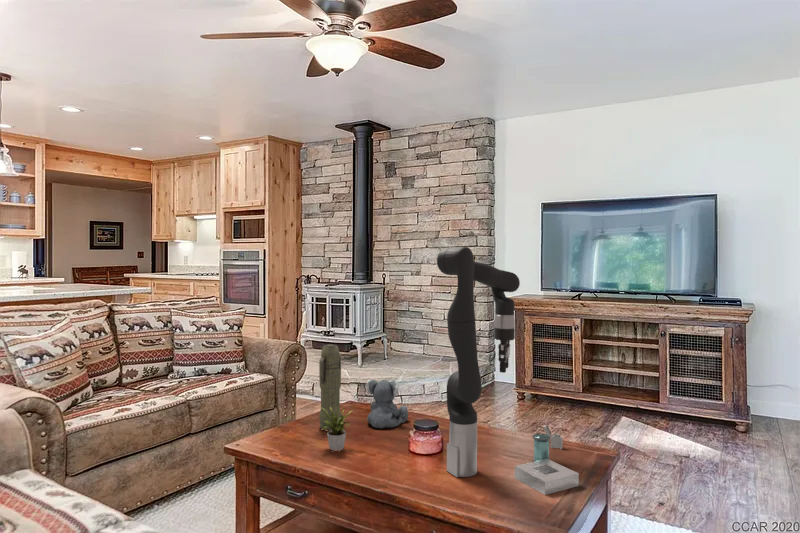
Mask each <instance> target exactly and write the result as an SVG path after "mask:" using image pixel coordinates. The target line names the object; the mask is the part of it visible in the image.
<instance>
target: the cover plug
mask: <svg viewBox="0 0 800 533" xmlns="http://www.w3.org/2000/svg"><path fill="white" fill-rule="evenodd" d="M532 439H533V462H534V461H539V460H543V459H549V460H550V441H551V436H549V435H547V434H546V433H541V432H539V433H534V434H532Z"/></svg>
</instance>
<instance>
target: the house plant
mask: <svg viewBox="0 0 800 533" xmlns="http://www.w3.org/2000/svg"><path fill="white" fill-rule="evenodd" d="M322 409H323V408H322ZM330 409H331V412H332V419H331V418H330V416H329V414H328V412H327V411H326V410H325V409H324V410H325V411H326V413H327V415H326V414H325V415H326V416H327V417H328V418H329V419H330V421H331V423H332V424H333V425H332V424H331V423H330V422H329V421H325V422H324V423H327V424H328V425H329V426H330V428H331V429H332V430H330V429H329V428H328V427H329V426H325V427H324V429H326V428H328V429H329V430H330V431H326V432H327V433H326V434H327V441H328V448H330V449H331V450H335V451H337V450H342V449H343V448H345V444H346V443H345V442H346V437H347V436H346V435H347V431H345V428H346V427H347V426H349V425H350V423H349V421H345V419H346V418H347V417H348V416H349V415H350V414H351V412H353V411H354V409H352V410H349V412H348V413H347V414H344V412H345V409H343V410H342V411H341V417H340V418H339V419H338V421H337V416H338V413H337V415H336V416H335V413H334V412H333V410H332V408H331V407H330ZM337 411H338V410H337ZM323 414H324V413H323ZM322 416H323V415H322ZM324 417H325V416H324ZM325 418H326V417H325ZM326 419H327V418H326ZM327 420H328V419H327ZM320 425H322V424H320V423H319V426H320ZM344 425H345V426H344ZM324 429H323V430H324ZM330 449H329V450H330ZM343 450H344V449H343ZM343 450H342V451H343Z"/></svg>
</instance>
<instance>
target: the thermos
mask: <svg viewBox="0 0 800 533" xmlns="http://www.w3.org/2000/svg"><path fill="white" fill-rule="evenodd" d="M320 354H321V355H320V359H319V363H318V364H319V366H318V367H319V370H318V371H319V373H318V374H319V377H318V378H319V387H320V410H319V429H320V428H321V429H324V427H325V426H329V425H328V424H327V423H324V422H325V421H329V422H330V423H331V421H330V419H329V418H328V417H327V416H326V415H327V413H326V411H327V412H328V414H329V416H330V418H331V419H332V412H331V409H330V407H331V408H332V410H333V412H334V413H335V416H336V415H337V413H338V416H337V421H338V419H339V418H340V417H341V414H342V411H341V409H340V408H341V406H340V405H341V404H340V403H341V402H340V401H341V398H340V397H341V396H340V395H341V394H340V393H341V392H340V388H341V386H342V385H341V384H342V382H341V381H342V378H341V377H342V357H341V354H340V349H339V347H338V345H337V344H336V343H334V344H333V343H327V344H324V345H323V346H322V349H321V352H320ZM322 408H323V409H322ZM324 409H325V410H326V411H325V410H324ZM337 410H338V411H337ZM323 413H324V414H323ZM325 414H326V415H325ZM322 415H323V416H322ZM324 416H325V417H326V418H327V419H328V420H327V419H326V418H325V417H324ZM320 424H322V425H320ZM331 424H332V423H331ZM332 425H333V424H332ZM328 428H329V429H330V430H332V429H331V428H330V426H329V427H328ZM328 428H326V429H324V430H329V429H328Z"/></svg>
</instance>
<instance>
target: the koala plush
mask: <svg viewBox="0 0 800 533" xmlns="http://www.w3.org/2000/svg"><path fill="white" fill-rule="evenodd" d="M399 387H400V385H399V381H398V380H397V379H395V380H391V381H389V380H387V379H381V380H379V381H376V380H375V379H368V380H367V381H366V386H365V388H366V391H367V393H368V394H369V395H372V397H373V399H374V401H373V402H371V404H370V413H369V414H368V416H367V420H366V421H367V422H368V424H370V425H371V426H372V427H373V428H374V427H375V428H374V429H384V428H388V429H391V428H396V427H398V426H399V425H401V423H402V424H404V423H406V422H407V420H408V419H409V412H408V410H409V409H408V406H406V405H401V406H400V407H398V406H397V405H396V404H395V402H394V399H395V398H396V397H397V395H398V394H399ZM390 427H391V428H390Z"/></svg>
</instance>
